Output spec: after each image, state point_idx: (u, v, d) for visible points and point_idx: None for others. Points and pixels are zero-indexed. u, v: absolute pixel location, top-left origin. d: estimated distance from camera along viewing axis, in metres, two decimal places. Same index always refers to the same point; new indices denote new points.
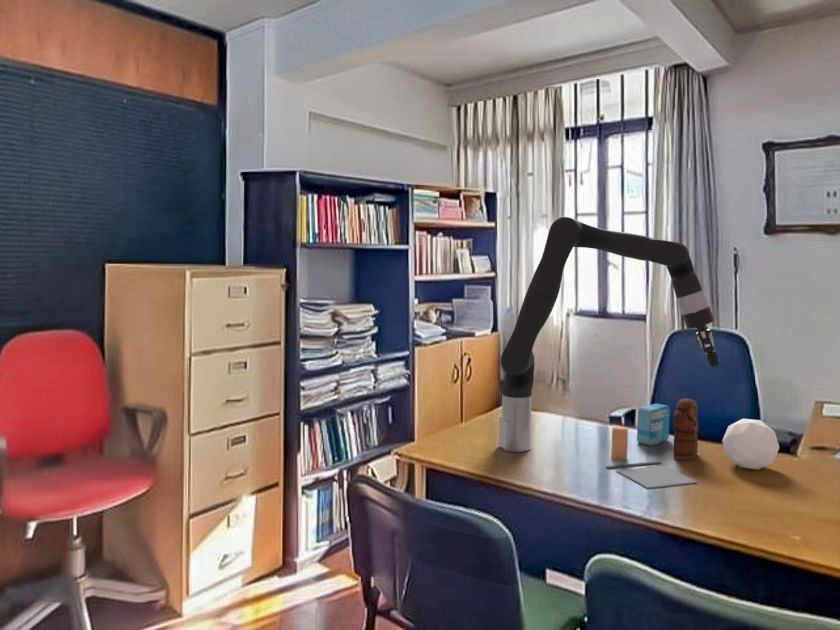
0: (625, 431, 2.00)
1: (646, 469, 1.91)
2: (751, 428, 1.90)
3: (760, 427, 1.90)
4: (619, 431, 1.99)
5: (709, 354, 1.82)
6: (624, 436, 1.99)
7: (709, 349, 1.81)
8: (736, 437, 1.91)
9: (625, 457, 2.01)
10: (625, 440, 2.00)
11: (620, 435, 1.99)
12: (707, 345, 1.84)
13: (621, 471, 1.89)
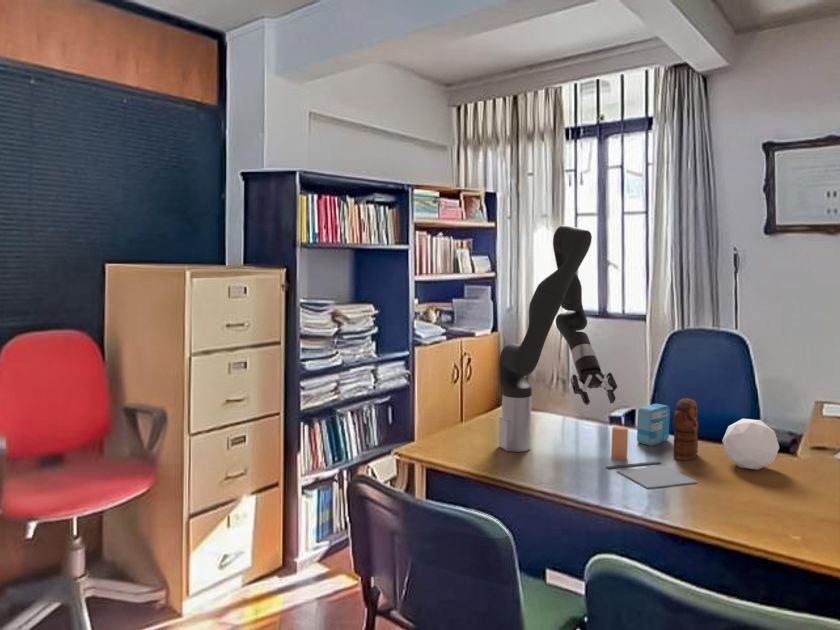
0: (625, 431, 2.00)
1: (646, 469, 1.91)
2: (751, 428, 1.90)
3: (760, 427, 1.90)
4: (619, 431, 1.99)
5: None
6: (624, 436, 1.99)
7: None
8: (736, 437, 1.91)
9: (625, 457, 2.01)
10: (625, 440, 2.00)
11: (620, 435, 1.99)
12: None
13: (621, 471, 1.89)
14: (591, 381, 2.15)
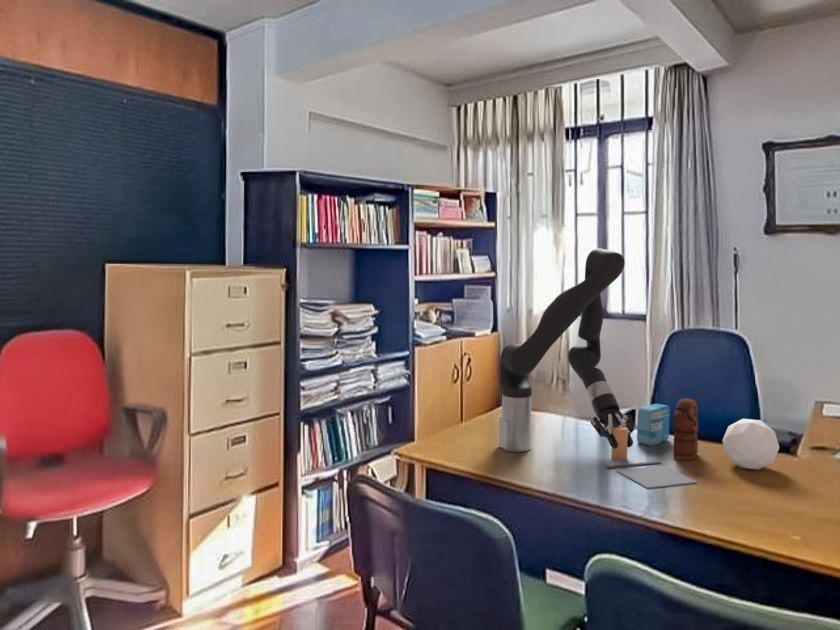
0: (625, 431, 1.99)
1: (646, 469, 1.91)
2: (751, 428, 1.90)
3: (761, 427, 1.90)
4: (619, 431, 1.99)
5: None
6: (624, 436, 1.99)
7: None
8: (736, 437, 1.91)
9: (625, 457, 2.01)
10: (625, 440, 2.00)
11: (620, 435, 1.99)
12: None
13: (621, 471, 1.89)
14: (612, 420, 2.04)
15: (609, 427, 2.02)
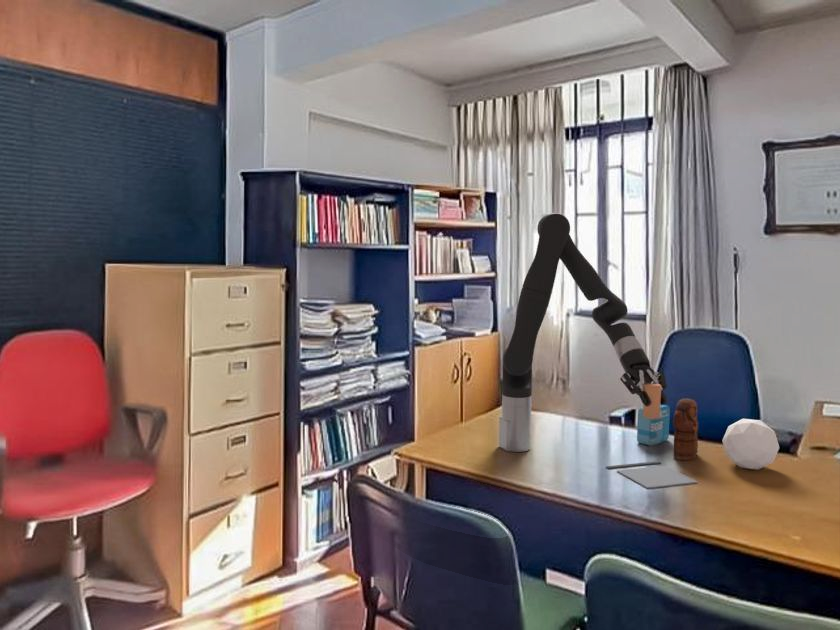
0: (658, 387, 1.85)
1: (646, 469, 1.91)
2: (751, 428, 1.90)
3: (760, 427, 1.90)
4: (652, 387, 1.85)
5: None
6: (657, 393, 1.85)
7: None
8: (736, 437, 1.91)
9: (658, 415, 1.86)
10: (658, 397, 1.86)
11: (653, 391, 1.85)
12: None
13: (621, 471, 1.89)
14: (643, 377, 1.90)
15: (641, 383, 1.88)
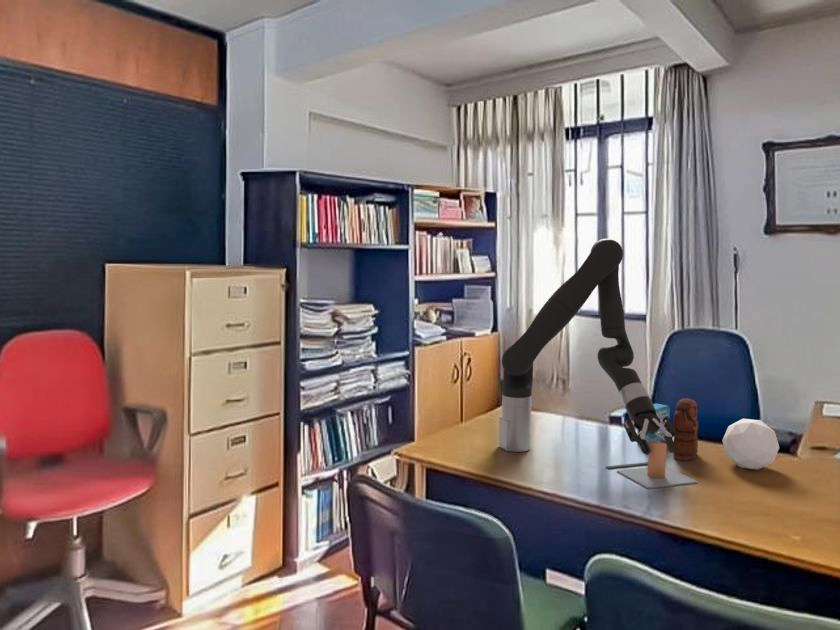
0: (664, 447, 1.82)
1: (646, 469, 1.91)
2: (751, 428, 1.90)
3: (761, 427, 1.90)
4: (657, 447, 1.82)
5: None
6: (662, 452, 1.82)
7: None
8: (736, 437, 1.91)
9: (663, 475, 1.84)
10: (664, 456, 1.83)
11: (658, 451, 1.82)
12: None
13: (621, 471, 1.89)
14: (648, 426, 1.87)
15: (642, 432, 1.85)
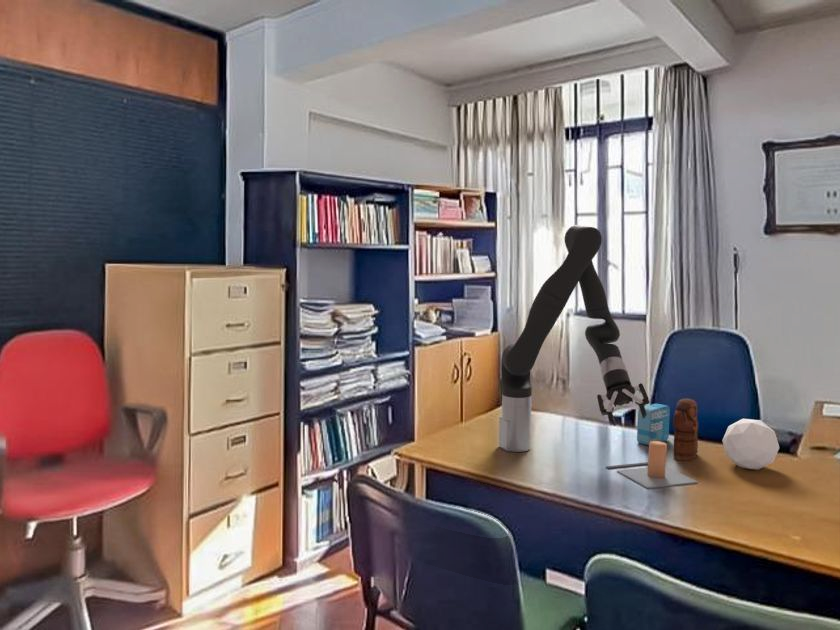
0: (664, 447, 1.82)
1: (646, 469, 1.91)
2: (751, 428, 1.90)
3: (761, 427, 1.90)
4: (657, 447, 1.82)
5: (643, 404, 1.93)
6: (662, 452, 1.82)
7: None
8: (736, 437, 1.91)
9: (663, 475, 1.83)
10: (664, 456, 1.83)
11: (658, 451, 1.82)
12: None
13: (621, 471, 1.89)
14: (618, 398, 1.97)
15: (609, 404, 1.97)
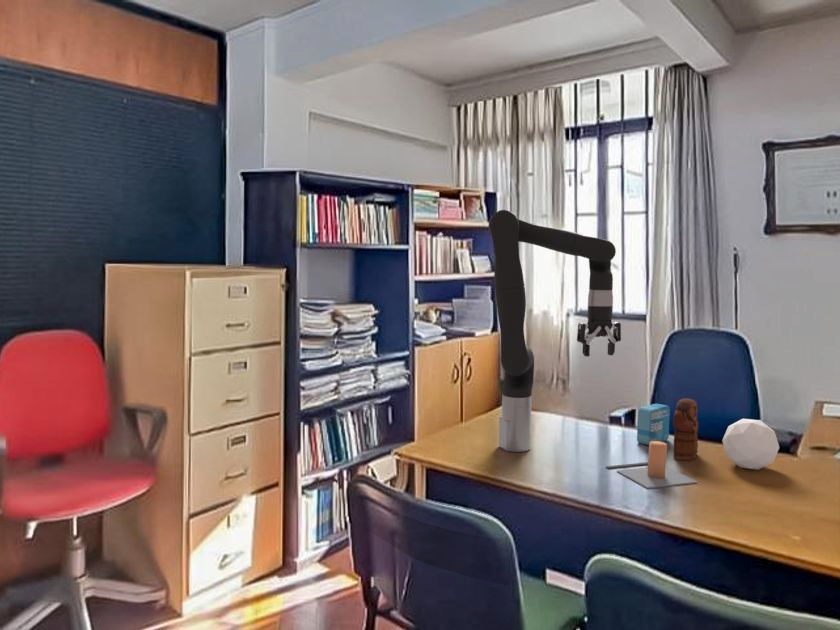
0: (664, 447, 1.82)
1: (646, 469, 1.91)
2: (751, 428, 1.90)
3: (760, 427, 1.90)
4: (657, 446, 1.82)
5: (583, 344, 2.07)
6: (662, 452, 1.82)
7: (579, 340, 2.06)
8: (736, 437, 1.91)
9: (663, 475, 1.83)
10: (664, 456, 1.83)
11: (658, 451, 1.82)
12: None
13: (621, 471, 1.89)
14: None
15: None
